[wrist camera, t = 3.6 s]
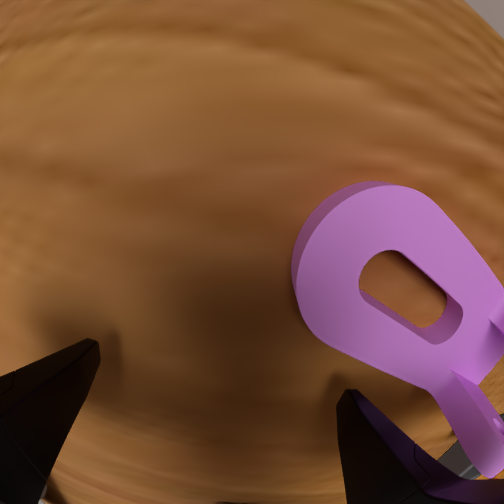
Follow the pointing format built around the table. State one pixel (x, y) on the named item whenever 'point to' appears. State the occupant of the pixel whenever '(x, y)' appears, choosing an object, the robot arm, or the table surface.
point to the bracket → (392, 324)
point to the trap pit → (460, 461)
